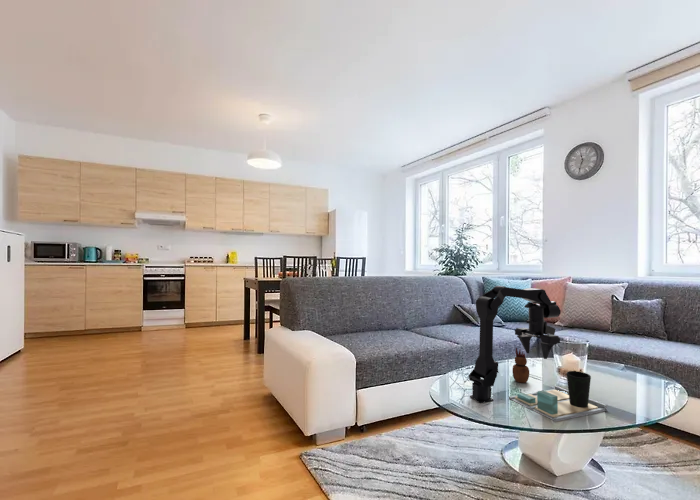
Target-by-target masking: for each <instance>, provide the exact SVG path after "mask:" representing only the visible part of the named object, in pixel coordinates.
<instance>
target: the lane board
mask: <svg viewBox="0 0 700 500" xmlns="http://www.w3.org/2000/svg"><path fill="white" fill-rule="evenodd" d="M551 390H559V391H565V392H567V393H568V394H569V391H568V389H565V388H563V387H560V386H559V385H554V388H552V389H547V390H545V391H551ZM526 394H527V395H528V394H532V395H534V396H536V397H537V391H535V392H534V391H533V392H528V393H526ZM516 396H517V395H516V394H515V395H512V396H511V395H510V396H508V399H509V400H511V401H513V402H515V403H517V404H520V405H521V406H523V407H525V408H527V409H529V410H531V411H534V412H535V413H538V414H540V415H542V416H544V417H546V418H548V419H551V420H552V421H554V422H559V421H565V420H569V419H573V418H577V417H583V416H587V415H592V414H597V413H602V412H606V411H608V410H607V409H608V408H607V407H608V405H607V404H605V403H603V402H600V401H597V400H595V399H591V398H590V397H589V400H588V403H589V404H592V405H594V406H597V407H598V409H593V410H589V411H584V412H579V413H574V414H569V415H564V416H559V417H555V418H554V417H552V416H549V415H547V414H545V413H543V412H541V411H539V410H537V409H535V407H536V406H537V405H535V406H530V405H528V404H526V403H524V402H522V401H520V400H518V399H515V397H516ZM568 400H569V399H567V400H562V401H558V402H563V401H568Z"/></svg>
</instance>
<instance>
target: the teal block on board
mask: <svg viewBox="0 0 700 500" xmlns="http://www.w3.org/2000/svg"><path fill="white" fill-rule="evenodd" d="M536 392H537V406H536V407H535V409H537V410H539V411H541V412H543V413H545V414H547V415H549V416H552V417H554V418H555V417H559V416H564V415H569V414H574V413H579V412H584V411H589V410H593V409H598V407H597V406H594V405H592V404H589V403H588V407H586V408H581V407H576V406H573V405H571V404H570V400H568V401H563V402H558V396H556V395H553V394H551V393H548V392H546V390H537V391H536Z"/></svg>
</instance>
